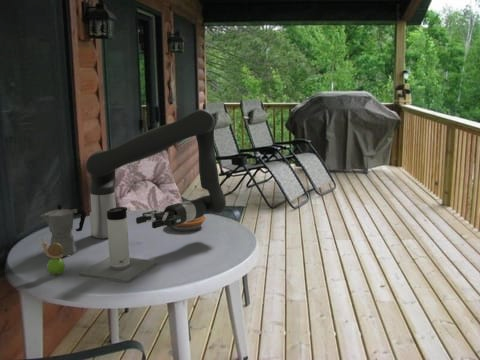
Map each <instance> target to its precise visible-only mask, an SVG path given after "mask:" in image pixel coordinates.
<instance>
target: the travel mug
mask: <svg viewBox="0 0 480 360" xmlns="http://www.w3.org/2000/svg"><path fill="white" fill-rule="evenodd" d="M127 211H128V207H127V206H126V207H125V206H118V207H117V206H116V208H113V209H110V210H109V211H107V226H108V238H107V239H108V251H109V252H108V253H109V257H110V268H111V269H113V270H123V269H127V268H128V267H129V266H130V262H129V257H130V248H129V247H130V246H129V245H130V244H129V230H128V216H127V213H128V212H127Z"/></svg>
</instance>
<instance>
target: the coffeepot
mask: <svg viewBox="0 0 480 360" xmlns="http://www.w3.org/2000/svg"><path fill="white" fill-rule="evenodd" d="M56 206H57V209H55V210H54V209H53V210H49V211H48V212H45V213H43V214H41V215H40V216H39V217H40V218H41V219H43V221H44V222H45V223H46V224H47V225H48V228H49V232H50V233H51V237H50V245H51V244H52V243H58V244H60V245H61V246H62V248H63V251H62V253H61V254H63V256H68V255H71V256H73V255H72V254H74V255H75V254H76V253H77V252H78V251H77V247H76V242H75V239H74V236H73V233H72V231H73V228H74V227H73V225H74V218H75V217H74V216H75V215H79V214H80V220H79V224H78V225H79V226H78V228H75V231H76V232H81V231H82V230H83V228H84V224H85V220H86V218H87V217H86V216H87V212H86V211H85V210H84V209H83V208H74V209H69V208H67V209H66V208H63V204H61V203H59V204H57V205H56ZM75 252H76V253H75ZM61 254H60V255H61ZM68 257H69V256H68Z"/></svg>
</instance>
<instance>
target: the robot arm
mask: <svg viewBox="0 0 480 360" xmlns="http://www.w3.org/2000/svg"><path fill="white" fill-rule="evenodd" d="M215 124H216V119H215V117H214V115H213V114H212V113H211V112H210V111H208V110H207V109H202V108H201V109H200V108H199V109H196V110H195V111H193V112H191V113H190V114H187V115H185V116H184V117H182V118H180V119H178V120H176V121H173V122H171V123H168V124H164V125H161V126H157V127H155V128H152V129H149V130H147V131H145V132H144V131H143V132H141V133H140V134H137V135H136V136H134V137H132V138H130V139H129V140H126V141H125V142H123V143H122V144H120V145H118V146H116V147H114V148H110V149H108V150H104V149H103V150H98V151H95V152H94V153H92V154H91V155H90V156H89V157H88V158H87V160H86V163H85V169H86V171H87V173H88V174H90V175H91V177H90V178H91V182H90V185H89V186H90V187H89V193H90V194H89V195H90V205H91V207H90V208H91V211H90V212H89V223H90V237H94V238H95V239H108V226H107V211H109V210H110V209H113V208H117V205H116V190H115V188H116V170H117V169H119V168H121V167H123V166H125V165H128V164H131V163H135V162H138V161H141V160H144V159H147V158H149V157H152V156H155V155H158V154H159V153H162V152H164V151H166V150H167V149H168V150H169V148H171V147H173V146H175V145H176V144H177V143H179V142H181V141H183V140H186V139H188V138H192V137H195V138H196V141H197V142H196V144H197V150H198V171H199V174H198V175H199V182H200V187H201V189H203V190H206V191H207V192H208V195H203V196H202V195H201V196H200V197H198V198H195V199H192V200H188V201H181V202H180V201H179V202H177V203H173V204H169V205H167V206H166V207H165V208H164V210H160V211H157V209H155V210H151V211H146V212H143V213H142V215H141V216H138V217H136V218H135V222H136V225H137V224H138V225H139V224H143V223H148V222H151V228H152V229H157V228H161V227H165V228H166V227H167V228H171V227H172V226H176V225H179V224H183V223H186V222H189V221H191V220H194V219H197V218H200V217H202V216H205V215H208V214H222V213H223V212H224V211H225V209H226V204H227V200H226V196H225V195H224V192H223V189H222V186H221V185H220V180H219V178H220V177H219V171H218V166H217V159H216V158H217V157H216V151H215ZM172 228H173V227H172Z"/></svg>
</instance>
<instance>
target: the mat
mask: <svg viewBox="0 0 480 360" xmlns="http://www.w3.org/2000/svg"><path fill="white" fill-rule="evenodd" d="M129 262H130V266H129V267H128V268H127V269H123V270H113V269H111V268H110V256H109V257H108V256H107V257H106V258H104V259H103V260H101V261H99V262H97V263H95V264H93V265H92V266H90V267H88V268H86V269H85V270H82V271H81V272H79V276H85V277H91V278H97V279H103V280H110V281H115V282H116V281H117V282H124V283H130V282H131V281H133V280H134V279H136V278H137V277H138V276H140V275H142V274H143V273H145V272H147V271H148V270H149V269H151V268H152V267H154V266H155V265H157V264H159V263H158V262H159V261H158V260H152V259H143V258H138V257H130V256H129Z"/></svg>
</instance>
